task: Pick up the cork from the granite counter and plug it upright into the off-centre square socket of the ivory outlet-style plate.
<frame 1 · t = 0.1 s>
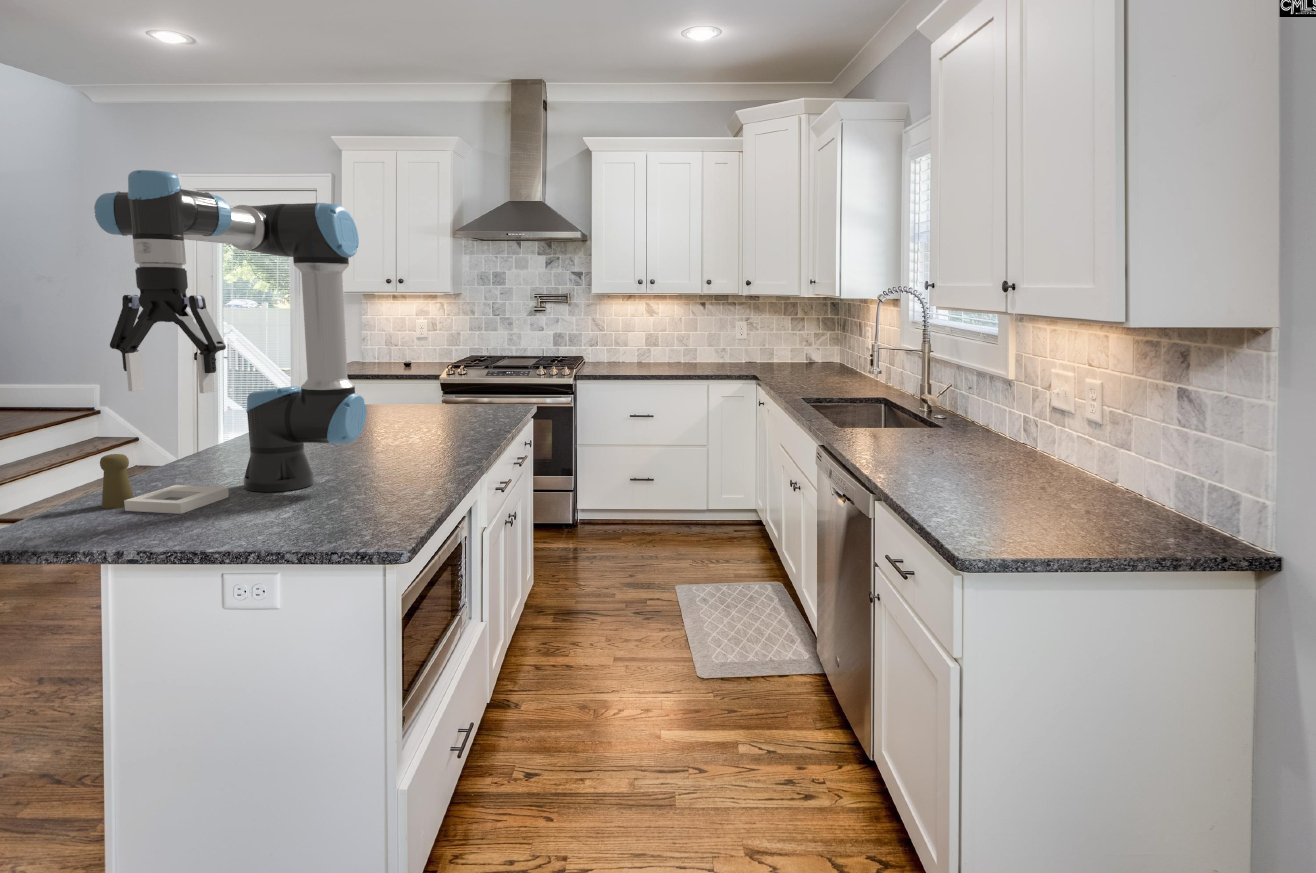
hand: (171, 391, 147), 28 cm above the countertop, fingers open, 13 cm apart
socket plate: (178, 503, 183), on the countertop
cork: (118, 506, 181), on the countertop
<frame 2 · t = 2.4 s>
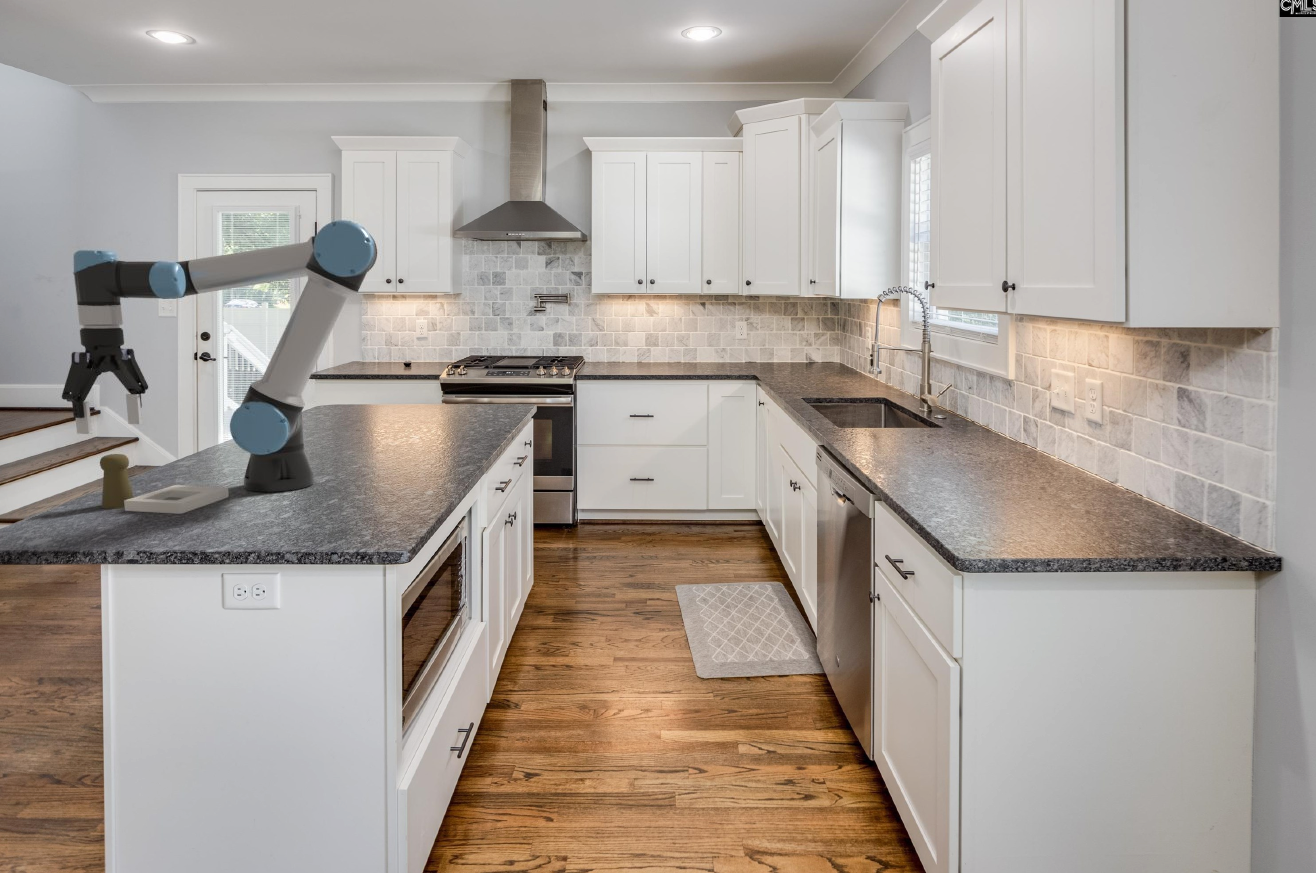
hand: (110, 428, 178), 17 cm above the countertop, fingers open, 13 cm apart
nothing on the countertop moved.
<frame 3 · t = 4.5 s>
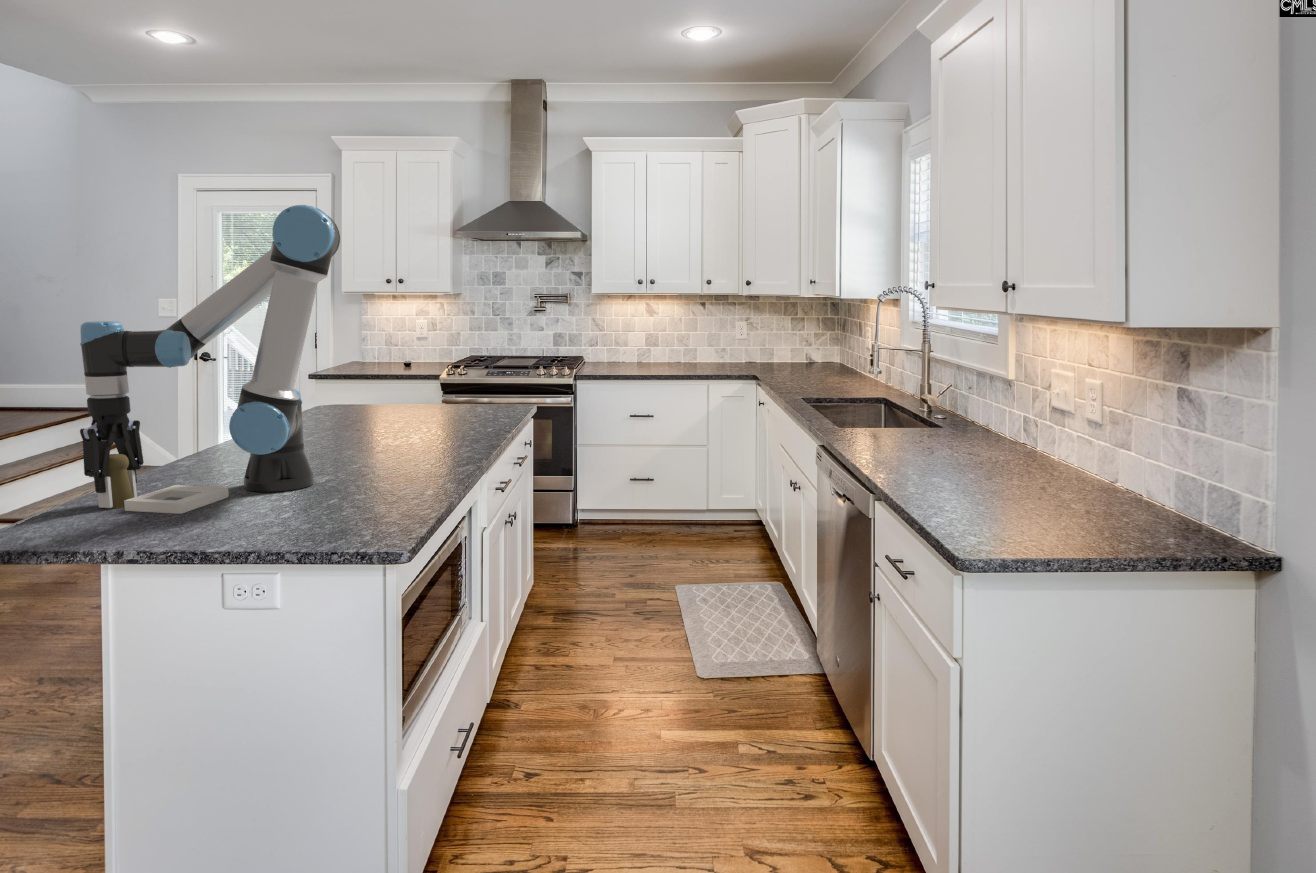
hand: (118, 503, 181), 0 cm above the countertop, fingers closed on cork, 6 cm apart
cork: (118, 506, 181), on the countertop, touching gripper
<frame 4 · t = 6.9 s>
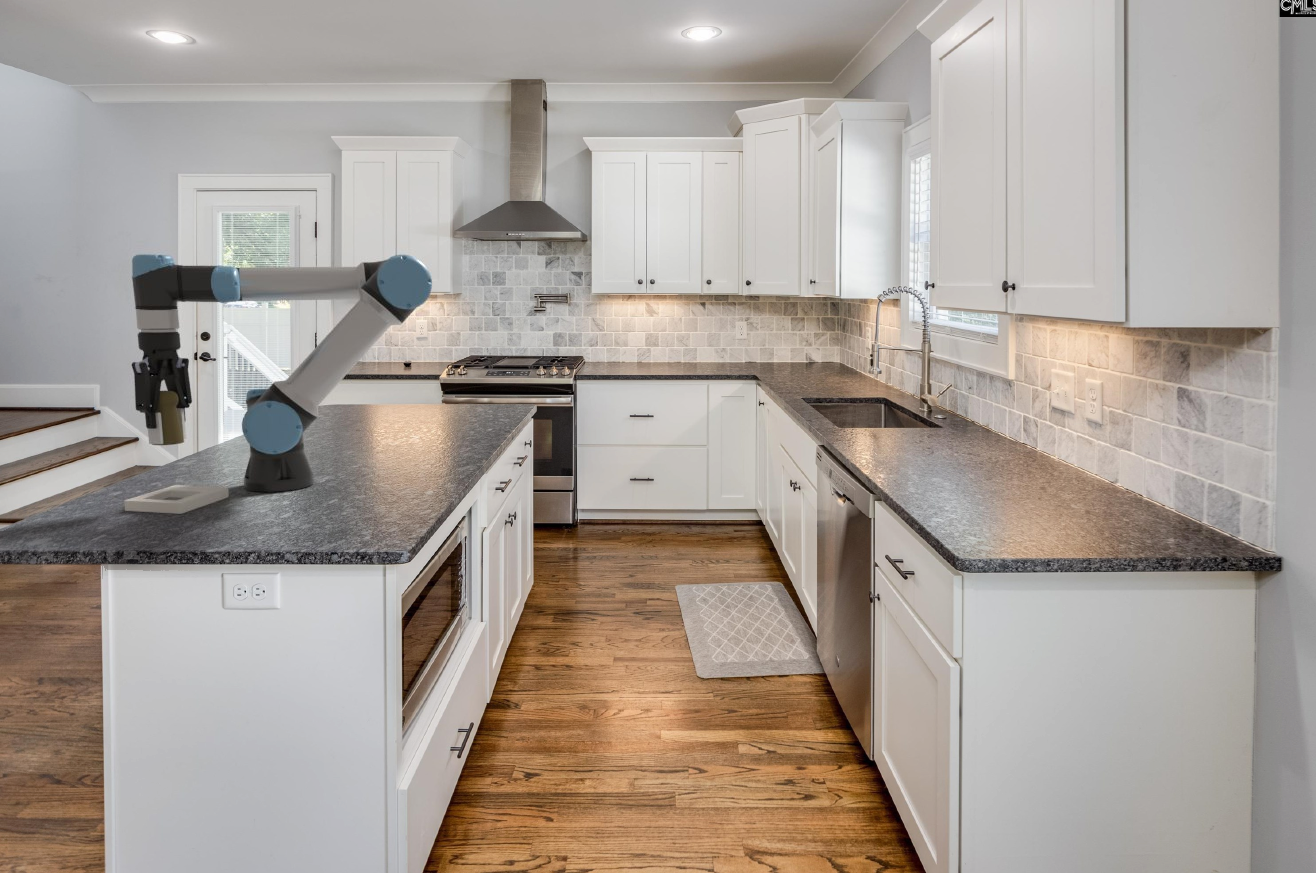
hand: (167, 440, 179), 14 cm above the countertop, fingers closed on cork, 6 cm apart
cork: (168, 443, 179), point 13 cm above the countertop, touching gripper
when the fingers open (3 cm above the countertop, at t = 9.5 s): cork drops 2 cm, resting on socket plate.
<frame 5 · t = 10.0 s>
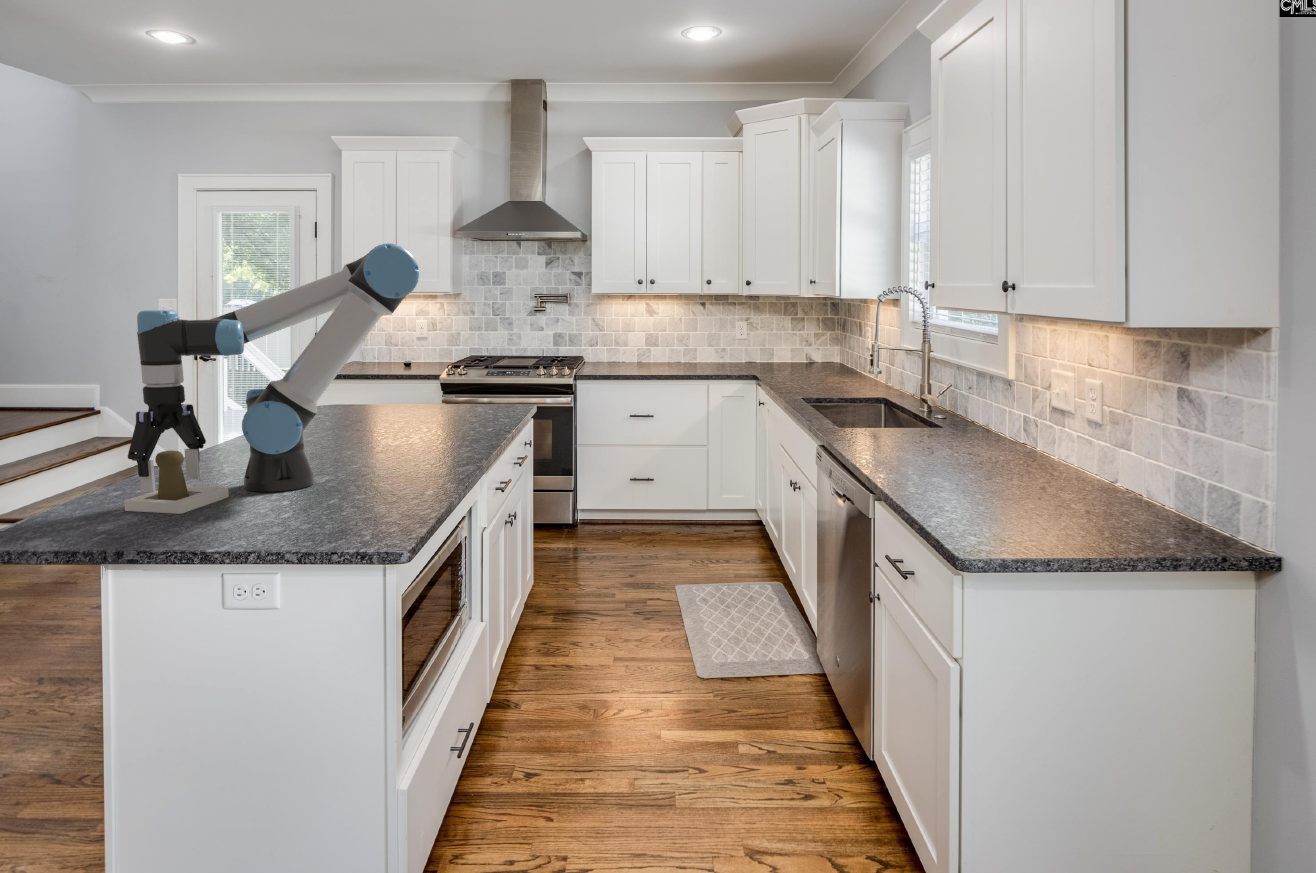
hand: (171, 484, 181), 4 cm above the countertop, fingers open, 13 cm apart
cork: (173, 502, 181), point 1 cm above the countertop, touching socket plate
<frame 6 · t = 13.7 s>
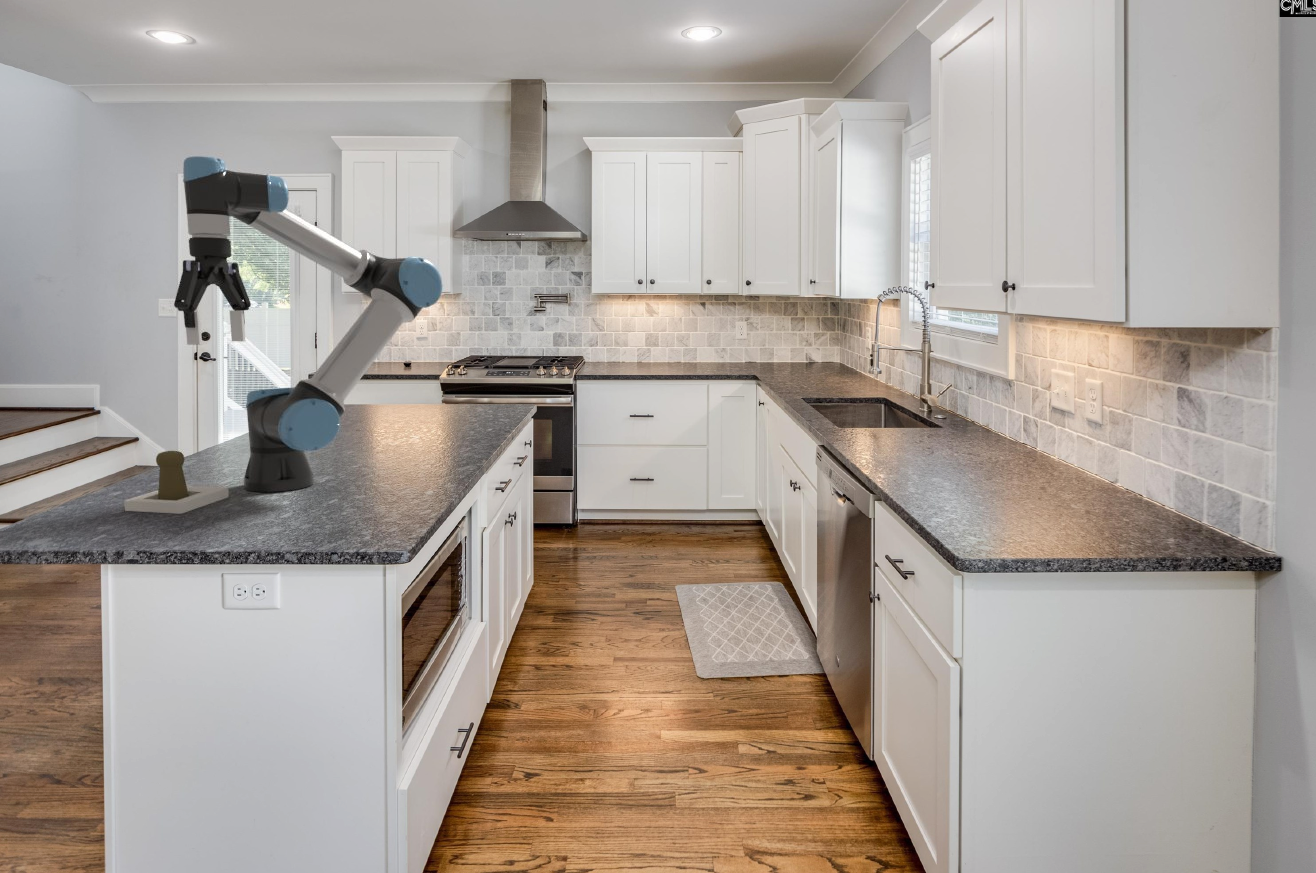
hand: (217, 343, 175), 35 cm above the countertop, fingers open, 13 cm apart
nothing on the countertop moved.
at the end: cork 0.1 cm from the target spot on the socket plate, point 0.5 cm above the socket plate's base; cork tilted 0°; the gripper is holding nothing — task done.
